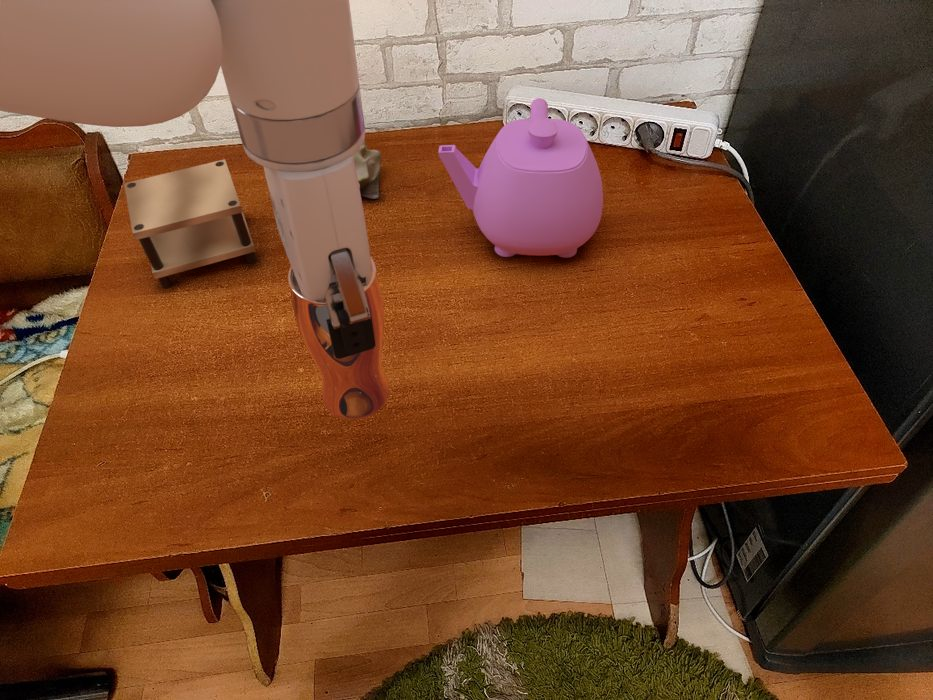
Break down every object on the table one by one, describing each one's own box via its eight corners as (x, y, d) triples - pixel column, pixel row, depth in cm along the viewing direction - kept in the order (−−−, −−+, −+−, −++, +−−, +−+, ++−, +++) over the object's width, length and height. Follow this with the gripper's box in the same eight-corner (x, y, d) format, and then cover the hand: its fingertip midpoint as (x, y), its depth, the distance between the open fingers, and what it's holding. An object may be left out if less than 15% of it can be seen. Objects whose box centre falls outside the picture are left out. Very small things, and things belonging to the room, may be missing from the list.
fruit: (326, 217, 93) (303, 166, 87) (326, 181, 99) (304, 132, 94) (391, 199, 92) (372, 146, 87) (386, 164, 99) (369, 113, 93)
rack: (161, 291, 82) (132, 233, 76) (151, 241, 88) (123, 183, 81) (260, 263, 85) (240, 205, 78) (244, 216, 91) (225, 158, 84)
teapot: (447, 176, 96) (443, 74, 85) (590, 177, 96) (605, 75, 84) (438, 272, 84) (432, 169, 72) (603, 275, 83) (623, 170, 72)
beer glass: (303, 410, 61) (266, 289, 50) (341, 355, 65) (315, 232, 54) (372, 434, 60) (351, 316, 48) (406, 376, 64) (394, 254, 52)
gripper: (213, 62, 46) (270, 262, 59) (270, 214, 35) (324, 414, 49) (322, 42, 48) (354, 240, 61) (407, 180, 37) (423, 381, 51)
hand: (340, 316), depth 55 cm, fingers closed on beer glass, 7 cm apart
